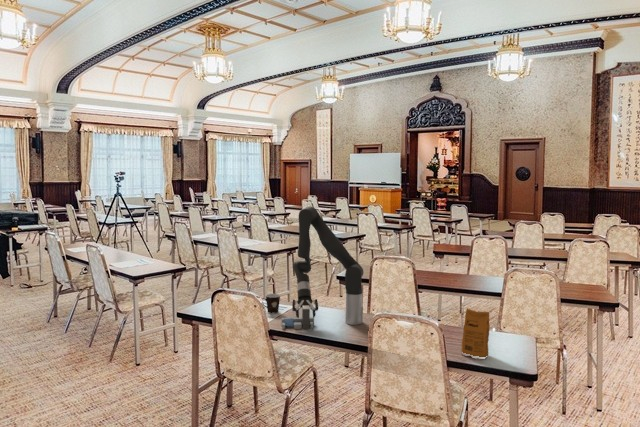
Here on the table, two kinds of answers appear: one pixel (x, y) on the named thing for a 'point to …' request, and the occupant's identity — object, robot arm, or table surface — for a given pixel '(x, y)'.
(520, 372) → the table surface
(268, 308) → the coffee mug
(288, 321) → the duct
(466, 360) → the table surface
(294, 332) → the table surface
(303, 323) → the plug
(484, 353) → the coffee package
